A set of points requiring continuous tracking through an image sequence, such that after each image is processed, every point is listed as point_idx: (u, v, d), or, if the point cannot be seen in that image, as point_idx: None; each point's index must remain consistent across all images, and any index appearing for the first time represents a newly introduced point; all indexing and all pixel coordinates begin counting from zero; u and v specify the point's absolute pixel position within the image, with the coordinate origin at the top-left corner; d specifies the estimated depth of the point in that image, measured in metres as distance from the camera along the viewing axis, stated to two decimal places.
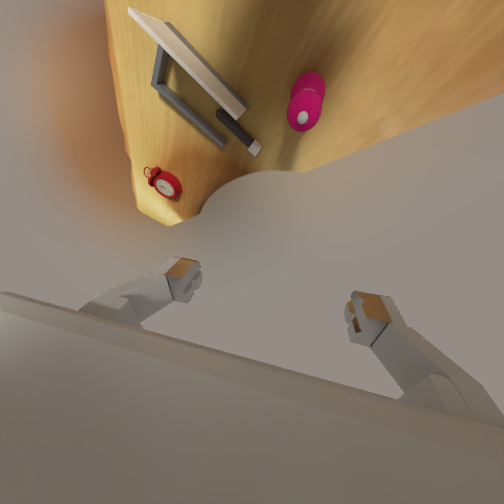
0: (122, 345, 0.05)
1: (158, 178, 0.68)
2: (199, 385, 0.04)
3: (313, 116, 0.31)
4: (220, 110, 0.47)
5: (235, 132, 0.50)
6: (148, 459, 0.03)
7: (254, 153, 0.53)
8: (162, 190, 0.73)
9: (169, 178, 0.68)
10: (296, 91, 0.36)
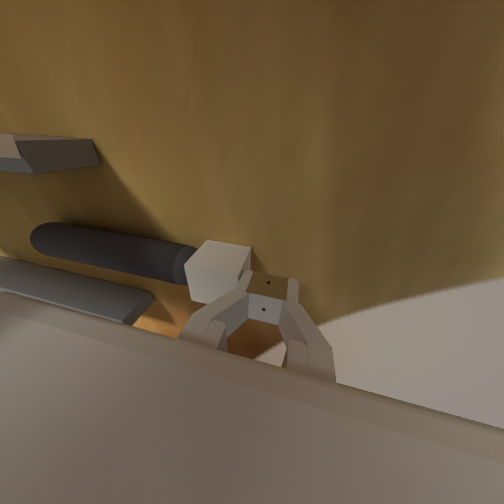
0: (122, 345, 0.05)
1: None
2: (199, 385, 0.04)
3: None
4: (36, 229, 0.12)
5: (110, 265, 0.11)
6: (149, 458, 0.03)
7: None
8: None
9: None
10: None
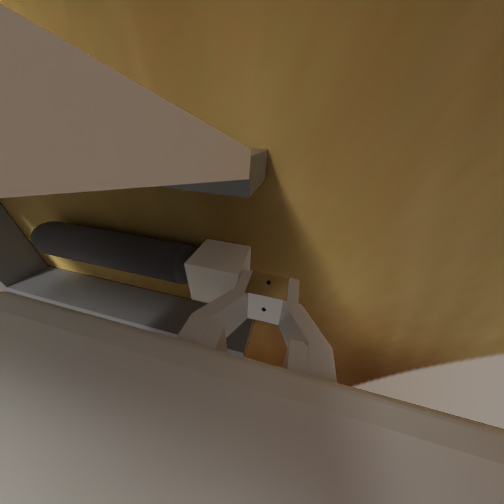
0: (122, 345, 0.05)
1: None
2: (199, 385, 0.04)
3: None
4: (37, 228, 0.12)
5: (110, 264, 0.11)
6: (148, 459, 0.03)
7: None
8: None
9: None
10: None
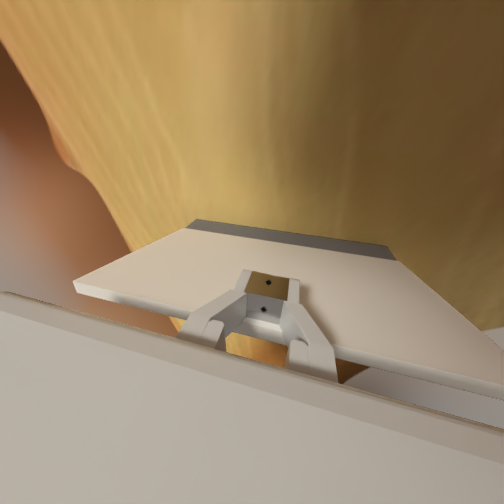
0: (122, 345, 0.05)
1: None
2: (199, 385, 0.04)
3: None
4: None
5: None
6: (149, 459, 0.03)
7: None
8: None
9: None
10: None
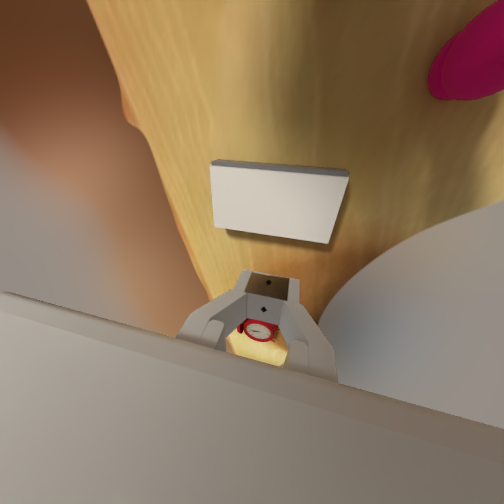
0: (121, 345, 0.05)
1: (249, 323, 0.52)
2: (199, 385, 0.04)
3: None
4: None
5: None
6: (148, 459, 0.03)
7: None
8: (255, 335, 0.55)
9: None
10: (488, 45, 0.15)
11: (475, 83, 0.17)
